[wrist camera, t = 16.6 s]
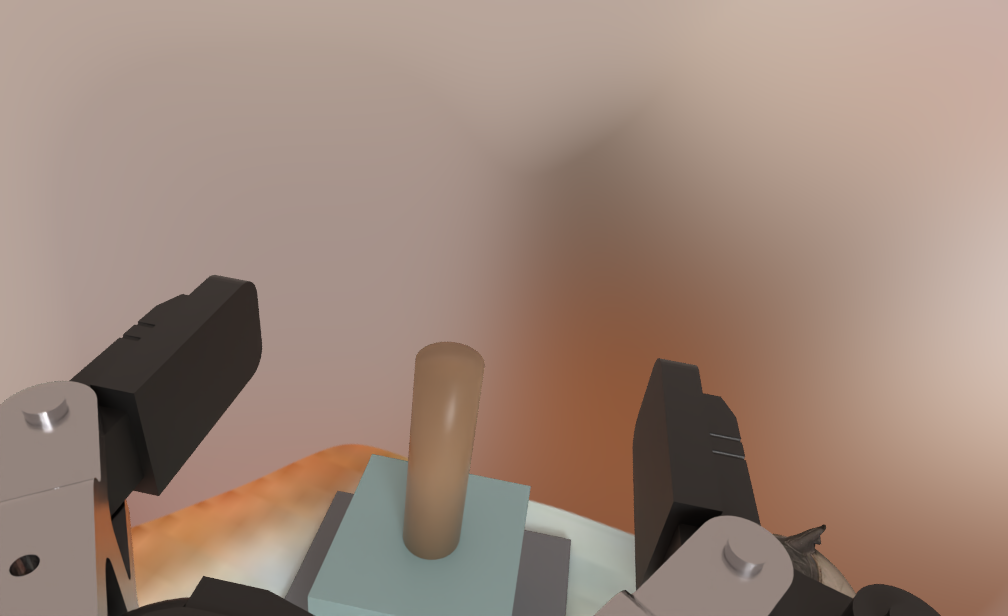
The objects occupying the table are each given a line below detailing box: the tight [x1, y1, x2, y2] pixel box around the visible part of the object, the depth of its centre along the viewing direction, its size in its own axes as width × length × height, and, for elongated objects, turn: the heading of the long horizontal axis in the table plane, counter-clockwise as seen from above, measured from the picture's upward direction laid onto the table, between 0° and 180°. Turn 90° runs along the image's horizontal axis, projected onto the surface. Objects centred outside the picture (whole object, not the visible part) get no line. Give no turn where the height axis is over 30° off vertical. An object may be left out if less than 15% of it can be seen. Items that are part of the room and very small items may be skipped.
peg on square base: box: [308, 342, 530, 616], centre depth 35 cm, size 10×10×21 cm
